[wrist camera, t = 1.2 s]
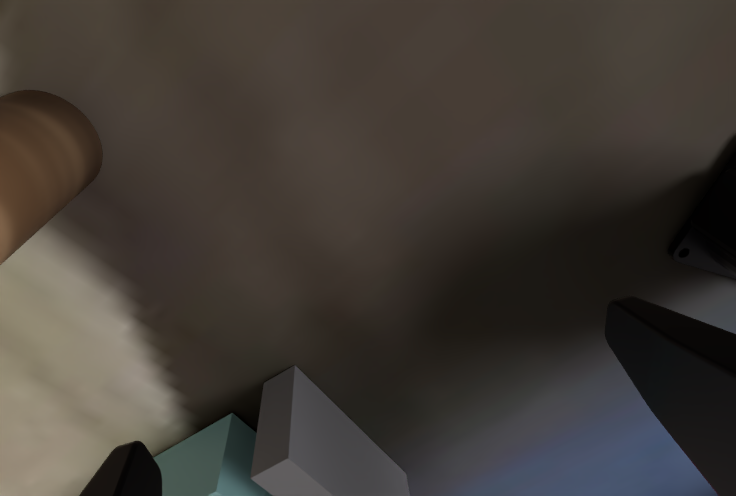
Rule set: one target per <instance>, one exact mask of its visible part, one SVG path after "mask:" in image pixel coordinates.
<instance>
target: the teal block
mask: <svg viewBox="0 0 736 496" xmlns="http://www.w3.org/2000/svg"><path fill="white" fill-rule="evenodd" d="M256 434H257V433H256V432H255V431H254V430H252V429H251V428H250V427H249V426H248V425H246V424H245V423H244V422H243V421H242V420H240V419H239V418H238V417H237V416H236V415H234V414H233V413H231V414H229V415H227V416H226V417H224V418H222V419H220V420H219V421H217V422H215V423H213V424H212V425H210V426H208V427H206V428H205V429H203V430H201V431H199V432H198V433H196V434H194V435H192V436H191V437H189V438H187V439H185V440H184V441H182V442H180V443H178V444H177V445H175V446H173V447H171V448H170V449H168V450H166V451H164V452H163V453H161V454H159V455H157V456H156V457H154V460H155V461H156V463H157V464H158V466H159V468H160V470H161V474H162V496H273V495H271V494H270V493H269V492H268V491H266V490H265V489H264V488H262V487H261V486H260V485H258V484H257V483H256V482H254V481H253V480H252V479H250V476H251V469H252V462H253V455H254V448H255V441H256Z"/></svg>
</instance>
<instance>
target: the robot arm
mask: <svg viewBox="0 0 736 496" xmlns="http://www.w3.org/2000/svg"><path fill="white" fill-rule="evenodd" d="M682 249H683V251H682V252H680V251H681V250H682ZM679 252H680V253H679ZM668 254H669V256H670V257H671V258H672V259H674V260H675V261H677V262H679V263H683V264H686V265H689V266H693V267H696V268H700V269H703V270H707V271H710V272H713V273H717V274H720V275H724V276H727V277H730V278H734V279H736V153H735V154H734V156H733V157H732V159H731V160H730V162H729V163H728V164H727V166H726V167H725V169H724V170H723V172H722V173H721V174H720V176H719V177H718V179H717V180H716V182H715V183H714V184H713V186H712V187H711V189H710V190H709V191H708V193H707V194H706V196H705V197H704V199H703V200H702V201H701V203H700V204H699V206H698V207H697V209H696V210H695V211H694V213H693V214H692V216H691V217H690V219H689V220H688V221H687V223H686V224H685V226H684V227H683V229H682V230H681V231H680V233H679V234H678V236H677V237H676V238H675V240H674V241H673V243H672V244H671V246H670V247H669V249H668ZM605 337H606V340H607V343H608V344H609V346H610V348H611V349H612V351H613V352H614V354H615V355H616V357H617V359H618V360H619V362H620V363H621V365H622V366H623V368H624V369H625V371H626V373H627V374H628V376H629V377H630V379H631V380H632V382H633V383H634V385H635V387H636V388H637V390H638V391H639V393H640V394H641V396H642V397H643V399H644V400H645V402H646V403H647V405H648V406H649V408H650V409H651V411H652V412H653V413H654V415H655V416H656V417H657V419H658V420H659V421H660V422H661V424H662V425H663V426H664V428H665V429H666V430H667V431H668V433H669V434H670V435H671V436H672V438H673V439H674V440H675V441H676V443H677V444H678V445H679V446H680V448H681V449H682V450H683V451H684V453H685V454H686V455H687V456H688V458H689V459H690V460H691V461H692V463H693V464H694V465H695V466H696V468H697V469H698V470H699V471H700V473H701V474H702V475H703V476H704V478H705V479H706V480H707V481H708V483H709V484H710V485H711V486H712V488H713V489H714V490H715V491H716V493H717V494H718V495H719V496H736V334H734V333H731V332H728V331H726V330H723V329H720V328H718V327H715V326H712V325H709V324H707V323H704V322H701V321H699V320H696V319H693V318H691V317H688V316H685V315H682V314H680V313H677V312H674V311H672V310H669V309H666V308H664V307H661V306H658V305H656V304H653V303H650V302H647V301H645V300H642V299H639V298H637V297H633V296H625V297H622V298H619V299H615V300H612V301H610V303H609V304H608V307H607V315H606V324H605ZM79 496H162V474H161V470H160V468H159V466H158V464H157V463H156V461H155V460H154V458H153V457H152V455H151V454H150V452H149V451H148V450H147V448H146V447H145V445H144V444H143V443H142V442H140V441H134V442H130V443H127V444H124V445H120V446H118V447H116V448H115V449H114V450H113V451H112V452H111V453H110V454H109V456H108V457H107V459H106V460H105V461H104V463H103V464H102V465H101V467H100V468H99V469H98V471H97V472H96V473H95V475H94V476H93V477H92V479H91V480H90V482H89V483H88V484H87V486H86V487H85V488H84V490H83V491H82V492H81V494H80V495H79Z"/></svg>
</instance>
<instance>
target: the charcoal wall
mask: <svg viewBox="0 0 736 496" xmlns="http://www.w3.org/2000/svg"><path fill="white" fill-rule="evenodd" d="M250 479H252V480H253V481H254V482H256V483H257V484H258V485H260V486H261V487H262V488H264V489H265V490H266V491H268V492H269V493H270V494H271V495H273V496H410V494H409V488H408V482H407V476H406V473H405V472H404V471H403V470H402V469H401V468H400V467H399V466H398V465H397V464H396V463H395V462H394V461H393V460H392V459H391V458H390V457H389V456H387V455H386V454H385V453H384V452H383V451H382V450H381V449H380V448H379V447H378V446H377V445H376V444H375V443H374V442H373V441H372V440H371V439H370V438H369V437H368V436H367V435H366V434H365V433H364V432H363V431H362V430H361V429H360V428H359V427H358V426H357V425H356V424H355V423H354V422H353V421H352V420H351V419H350V418H349V417H348V416H347V415H346V414H345V413H343V412H342V411H341V410H340V409H339V408H338V407H337V406H336V405H335V404H334V403H333V402H332V401H331V400H330V399H329V398H328V397H327V396H326V395H325V394H324V393H323V392H322V391H321V390H320V389H319V388H318V387H317V386H316V385H315V384H314V383H313V382H312V381H311V380H310V379H309V378H308V377H307V376H306V375H305V374H304V373H303V372H302V371H301V370H300V369H298V368H297V367H296V366H295V365H294V366H292V367H291V368H289V369H287V370H285V371H284V372H282V373H280V374H278V375H277V376H275V377H273V378H272V379H270V380H268V381H266V382H265V383H264V385H263V392H262V399H261V406H260V413H259V420H258V427H257V434H256V441H255V448H254V455H253V462H252V469H251V476H250Z"/></svg>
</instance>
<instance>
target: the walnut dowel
mask: <svg viewBox="0 0 736 496" xmlns="http://www.w3.org/2000/svg"><path fill="white" fill-rule="evenodd" d="M101 165H102V146H101V142H100V139H99V137H98V134H97V132H96V130H95V129H94V127H93V125H92V124H91V123H90V121H89V120H88V119H87V118H86V116H85V115H84V114H83V113H82V112H81V111H80V110H78V109H77V108H76V107H75V106H73V105H72V104H71V103H69V102H67V101H66V100H64V99H62V98H60V97H58V96H56V95H53V94H50V93H46V92H42V91H35V90H23V91H17V92H14V93H11V94H8V95H5V96H3V97H0V265H1V264H2V263H3V262H4V261H5V260H6V259H8V258H9V257H10V256H11V255H12V254H13V253H14V252H15V251H16V250H17V249H19V248H20V247H21V246H22V245H23V244H24V243H25V242H26V241H27V240H28V239H30V238H31V237H32V236H33V235H34V234H35V233H36V232H37V231H38V230H39V229H40V228H42V227H43V226H44V225H45V224H46V223H47V222H48V221H49V220H50V219H51V218H53V217H54V216H55V215H56V214H57V213H58V212H59V211H60V210H61V209H62V208H64V207H65V206H66V205H67V204H68V203H69V202H70V201H71V200H72V199H73V198H75V197H76V196H77V195H78V194H79V193H80V192H81V191H82V190H83V189H84V188H86V187H87V186H88V185H89V184H90V183H91V182H92V181H93V180H94V179H95V178H96V176H97V175H98V173H99V171H100V168H101Z"/></svg>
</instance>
